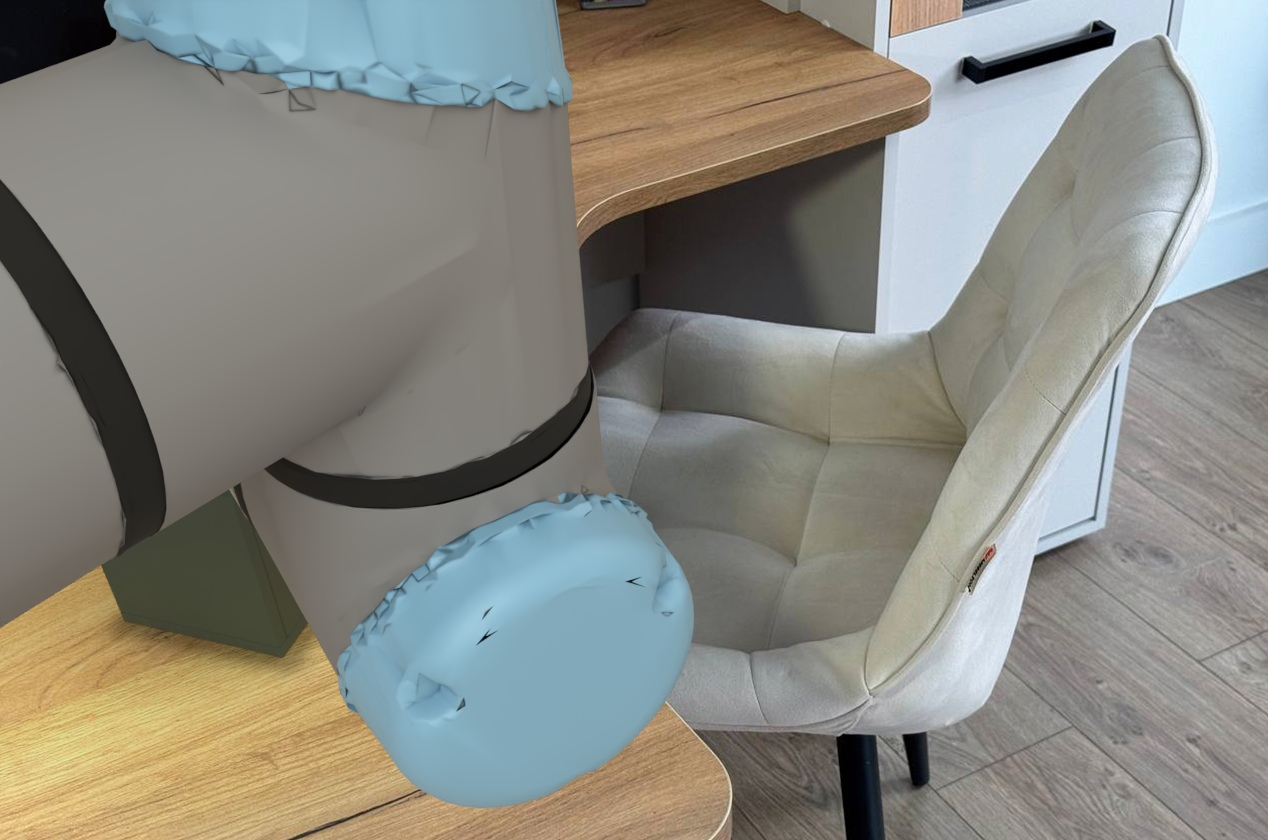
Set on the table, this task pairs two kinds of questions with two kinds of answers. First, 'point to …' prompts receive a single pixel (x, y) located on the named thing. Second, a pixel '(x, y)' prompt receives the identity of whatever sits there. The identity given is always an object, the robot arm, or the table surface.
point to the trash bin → (208, 582)
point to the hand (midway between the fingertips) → (126, 121)
